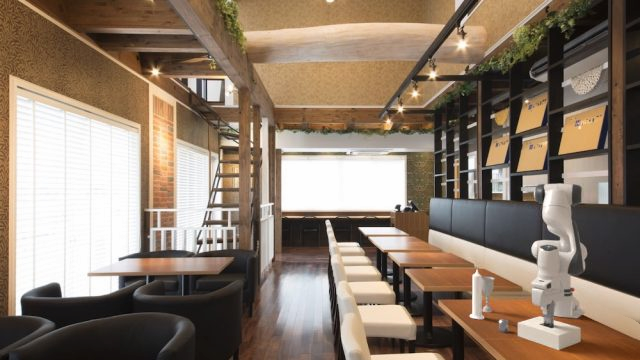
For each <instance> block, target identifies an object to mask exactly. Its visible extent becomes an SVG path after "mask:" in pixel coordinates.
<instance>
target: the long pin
mask: <svg viewBox="0 0 640 360" xmlns="http://www.w3.org/2000/svg"><path fill="white" fill-rule="evenodd" d="M547 310H548V314H543V317H544V326H546V327H549V328H554V320H555V316H554V300H553V301H552V303H551V304H548V305H547Z"/></svg>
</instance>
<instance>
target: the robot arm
mask: <svg viewBox="0 0 640 360" xmlns="http://www.w3.org/2000/svg"><path fill="white" fill-rule="evenodd" d="M533 197H534V200H535V201H536V202H537V203H538V204H542V211H541V212H542V214H541V216H542V220H543V222H544V223H545V224H546V227H547V230H548V232H550V233H551V234H554V235H555V236H558V237H559V240H550V239H542V240H541V239H540V240H536V241H535V240H534V242H533V244H532V246H531V248H530V249H531V254H532V256H533V257H534V258H535V259H536V266H537V269H538V271H537V277H536V278H534V279H533V280H532V281H531V283H530V284H531V285H530V286H531V287H532V289H531V301H532V302H531V303H532V304H533V305H534V306H536V307H537V306H538V307H540V310H541V312H542V314H543V315H544V314H548V310H547V305H548V304H551V303H552V301H553V300H554V317H559V318H572V319H579V318H580V317H581V316H583V315H584V314H585V310H583V309H580V301H579V300H578V299H577V298H576V297H575V296H574V295H573V293H574V292H575V291H576V289H575V287H572V286H571V284H572V282H571V280H572V279H571V276H575V277H577V276H579V275H581V274H583V273H584V272H585V270H586V261H585V259H586V258H587V256H588V251H587V247H586V246H585V245H584V244H583V243H582V242H581V240H580V235H579V229H578V225H577V223H576V221H575V220H573V219H572V208H571V207H575V206H577V205H580V204H581V203H582V201H583V200H584V197H585V193H584V189H583V188H582V186H581V185H580V184H574V183H573V184H570V183H559V182H558V183H547V184H545V183H540V184H537V185H536V186H535V188H534V191H533Z"/></svg>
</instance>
